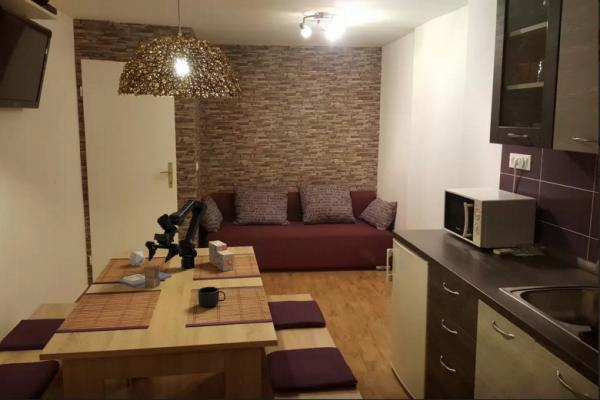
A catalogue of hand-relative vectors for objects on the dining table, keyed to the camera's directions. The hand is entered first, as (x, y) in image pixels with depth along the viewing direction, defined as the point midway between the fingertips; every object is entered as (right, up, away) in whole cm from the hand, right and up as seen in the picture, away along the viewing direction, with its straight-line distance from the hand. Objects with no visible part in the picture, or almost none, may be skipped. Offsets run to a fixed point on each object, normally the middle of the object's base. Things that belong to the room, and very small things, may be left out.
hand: (157, 261), depth 252 cm
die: (-20, -6, +33) cm, 39 cm away
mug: (+32, -16, -27) cm, 45 cm away
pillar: (-1, -12, -2) cm, 12 cm away
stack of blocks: (+27, -7, +32) cm, 43 cm away
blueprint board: (-8, -10, +8) cm, 15 cm away
